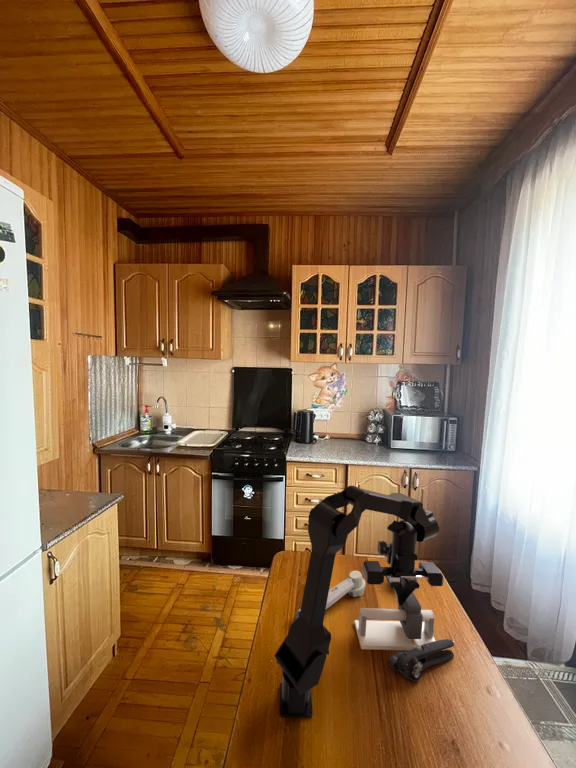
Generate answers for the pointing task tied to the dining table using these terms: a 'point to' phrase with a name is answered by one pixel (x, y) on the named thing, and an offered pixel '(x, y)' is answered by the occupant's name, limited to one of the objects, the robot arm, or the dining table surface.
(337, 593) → the light grey long piece
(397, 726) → the dining table surface
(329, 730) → the dining table surface
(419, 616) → the stepped block
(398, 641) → the pipe stand
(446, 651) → the can opener
